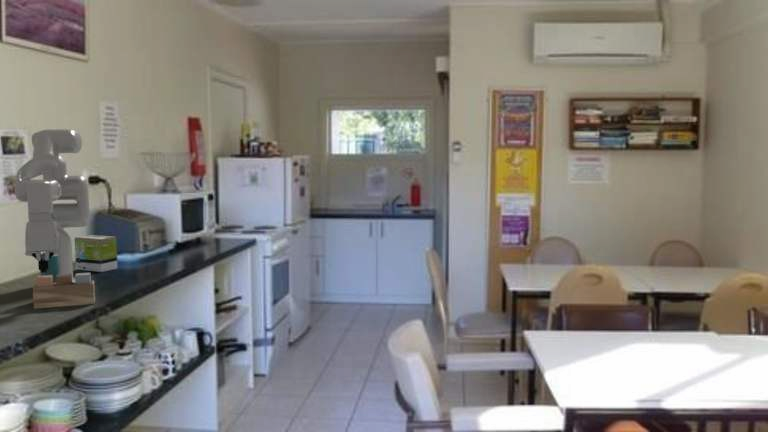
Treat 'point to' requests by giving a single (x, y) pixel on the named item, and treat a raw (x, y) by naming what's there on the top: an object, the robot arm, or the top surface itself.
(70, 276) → the brown cube
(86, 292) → the wooden compartment box
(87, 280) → the grey cube
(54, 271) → the beverage bottle
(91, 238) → the tea box
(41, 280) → the salmon pink cube
